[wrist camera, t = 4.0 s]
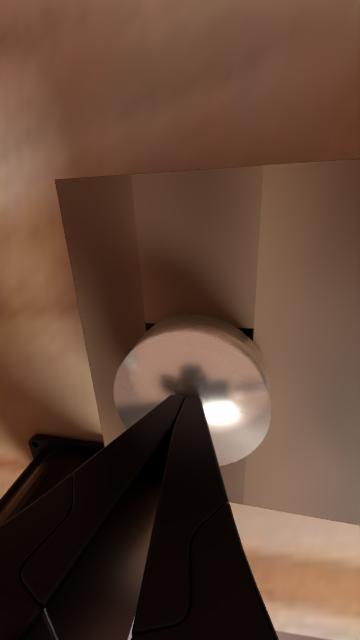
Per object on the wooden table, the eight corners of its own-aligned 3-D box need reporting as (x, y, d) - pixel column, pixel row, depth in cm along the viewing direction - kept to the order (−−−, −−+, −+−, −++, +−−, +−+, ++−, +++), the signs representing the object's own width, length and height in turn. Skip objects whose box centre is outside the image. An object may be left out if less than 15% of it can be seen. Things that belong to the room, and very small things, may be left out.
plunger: (170, 357, 15) (122, 455, 9) (165, 274, 13) (103, 331, 8) (258, 364, 14) (265, 477, 8) (265, 275, 12) (278, 341, 7)
